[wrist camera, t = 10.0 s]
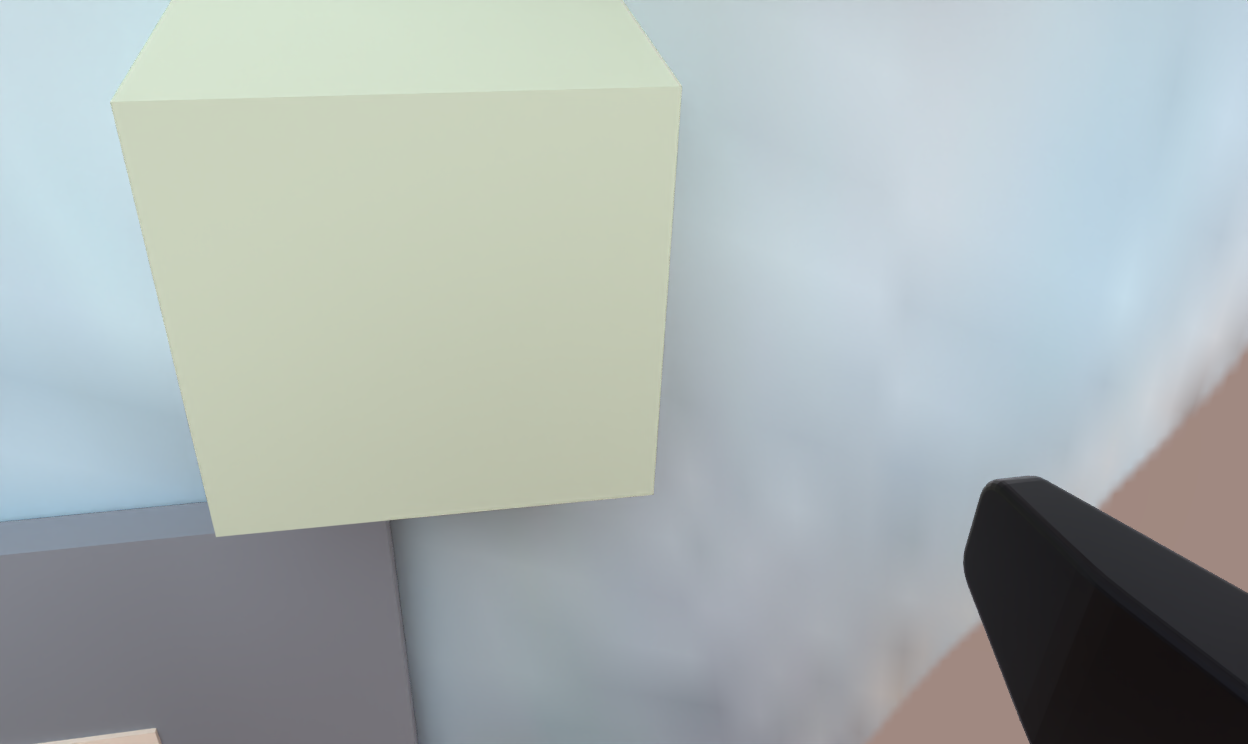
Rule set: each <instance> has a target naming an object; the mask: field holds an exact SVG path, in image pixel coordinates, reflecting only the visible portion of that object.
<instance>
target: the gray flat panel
mask: <svg viewBox="0 0 1248 744" xmlns="http://www.w3.org/2000/svg"><path fill="white" fill-rule="evenodd" d="M0 744H418V737H417V730H416V722H415V714H414V706H413V699H412V691H411V683H410V675H409V667H408V660H407V652H406V644H405V636H404V628H403V621H402V613H401V605H400V597H399V590H398V582H397V574H396V566H395V558H394V551H393V543H392V535H391V527H390V520H387V521H376V522H366V523H356V524H345V525H335V526H325V527H314V528H304V529H294V530H283V531H273V532H263V533H252V534H242V535H232V536H221V537H216V535H215V531H214V527H213V523H212V519H211V514H210V510H209V506H208V502H200V503H190V504H180V505H170V506H159V507H149V508H139V509H129V510H119V511H108V512H98V513H88V514H78V515H68V516H57V517H47V518H37V519H27V520H16V521H6V522H0Z"/></svg>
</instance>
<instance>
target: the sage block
mask: <svg viewBox="0 0 1248 744" xmlns="http://www.w3.org/2000/svg"><path fill="white" fill-rule="evenodd" d="M681 92H682V86H681V84H680V83H679V81H678V80H677V78H676V77H675V76H674V74H673V73H672V71H671V70H670V68H669V67H668V65H667V64H666V63H665V61H664V60H663V58H662V57H661V55H660V54H659V52H658V51H657V49H656V48H655V47H654V45H653V44H652V42H651V41H650V39H649V38H648V36H647V35H646V34H645V32H644V31H643V29H642V28H641V26H640V25H639V23H638V22H637V20H636V19H635V18H634V16H633V15H632V13H631V12H630V10H629V9H628V7H627V6H626V5H625V3H624V2H623V0H171V2H170V3H169V5H168V7H167V8H166V10H165V12H164V13H163V15H162V17H161V18H160V20H159V22H158V23H157V25H156V27H155V28H154V30H153V32H152V33H151V35H150V37H149V38H148V40H147V42H146V43H145V45H144V47H143V48H142V50H141V52H140V53H139V55H138V57H137V58H136V60H135V62H134V63H133V65H132V67H131V68H130V70H129V72H128V73H127V75H126V76H125V78H124V80H123V81H122V83H121V85H120V86H119V88H118V90H117V91H116V93H115V95H114V96H113V98H112V100H111V101H110V103H111V107H112V111H113V115H114V119H115V124H116V128H117V132H118V136H119V140H120V144H121V148H122V152H123V156H124V161H125V165H126V169H127V173H128V177H129V181H130V185H131V189H132V193H133V198H134V202H135V206H136V210H137V214H138V218H139V222H140V226H141V230H142V235H143V239H144V243H145V247H146V251H147V255H148V259H149V263H150V268H151V272H152V276H153V280H154V284H155V288H156V292H157V296H158V300H159V305H160V309H161V313H162V317H163V321H164V325H165V329H166V333H167V337H168V342H169V346H170V350H171V354H172V358H173V362H174V366H175V370H176V375H177V379H178V383H179V387H180V391H181V395H182V399H183V403H184V407H185V412H186V416H187V420H188V424H189V428H190V432H191V436H192V440H193V444H194V449H195V453H196V457H197V461H198V465H199V469H200V473H201V477H202V481H203V486H204V490H205V494H206V498H207V502H208V506H209V510H210V514H211V519H212V523H213V527H214V531H215V535H216V537H221V536H232V535H242V534H252V533H263V532H273V531H283V530H294V529H304V528H314V527H325V526H335V525H345V524H356V523H366V522H376V521H387V520H397V519H407V518H418V517H428V516H438V515H449V514H459V513H469V512H480V511H490V510H500V509H511V508H521V507H531V506H542V505H552V504H562V503H572V502H583V501H593V500H603V499H614V498H624V497H634V496H645V495H653V493H654V479H655V465H656V450H657V436H658V422H659V407H660V393H661V379H662V364H663V350H664V336H665V321H666V307H667V293H668V278H669V264H670V250H671V235H672V221H673V207H674V192H675V178H676V164H677V149H678V135H679V121H680V106H681Z"/></svg>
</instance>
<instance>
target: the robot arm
mask: <svg viewBox="0 0 1248 744" xmlns="http://www.w3.org/2000/svg"><path fill="white" fill-rule="evenodd" d="M963 565H964V573H965V577H966V581H967V584H968V587H969V589H970V592H971V595H972V597H973V600H974V602H975V605H976V608H977V610H978V613H979V615H980V618H981V621H982V623H983V626H984V628H985V631H986V633H987V636H988V639H989V641H990V644H991V646H992V649H993V651H994V654H995V657H996V659H997V662H998V664H999V667H1000V669H1001V672H1002V675H1003V677H1004V680H1005V682H1006V685H1007V688H1008V690H1009V693H1010V695H1011V698H1012V701H1013V703H1014V706H1015V709H1016V710H1017V714H1018V716H1019V719H1020V721H1021V723H1022V726H1023V728H1024V731H1025V733H1026V736H1027V738H1028V740H1029V743H1030V744H1248V593H1247V592H1245V591H1243V590H1241V589H1240V588H1238V587H1236V586H1234V585H1233V584H1231V583H1229V582H1227V581H1225V580H1224V579H1222V578H1220V577H1218V576H1216V575H1215V574H1213V573H1211V572H1209V571H1208V570H1206V569H1204V568H1202V567H1200V566H1198V565H1197V564H1195V563H1193V562H1191V561H1190V560H1188V559H1186V558H1184V557H1183V556H1181V555H1179V554H1177V553H1175V552H1174V551H1172V550H1170V549H1168V548H1167V547H1165V546H1163V545H1161V544H1159V543H1158V542H1156V541H1154V540H1152V539H1150V538H1149V537H1147V536H1145V535H1143V534H1142V533H1140V532H1138V531H1136V530H1134V529H1133V528H1131V527H1129V526H1127V525H1125V524H1124V523H1122V522H1120V521H1118V520H1117V519H1115V518H1113V517H1111V516H1109V515H1108V514H1106V513H1104V512H1102V511H1100V510H1099V509H1097V508H1095V507H1093V506H1092V505H1090V504H1088V503H1086V502H1084V501H1083V500H1081V499H1079V498H1077V497H1076V496H1074V495H1072V494H1070V493H1068V492H1067V491H1065V490H1063V489H1061V488H1059V487H1058V486H1056V485H1054V484H1052V483H1051V482H1049V481H1047V480H1045V479H1043V478H1041V477H1037V476H1021V477H1012V478H1003V479H996V480H993V481H991V482H989V483H988V484H987V485H986V486H985V487H984V488H983V490H982V492H981V495H980V498H979V502H978V505H977V509H976V512H975V515H974V519H973V522H972V526H971V529H970V533H969V536H968V540H967V543H966V547H965V551H964V560H963Z"/></svg>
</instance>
